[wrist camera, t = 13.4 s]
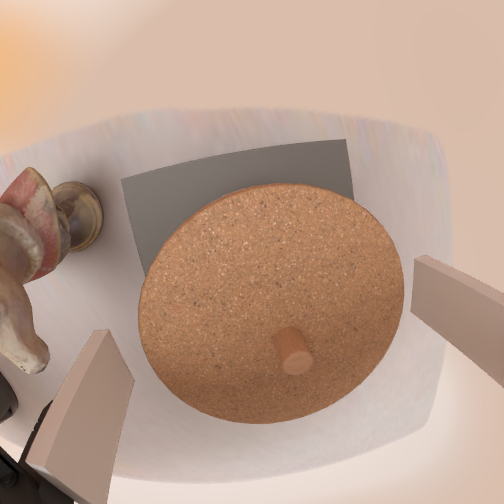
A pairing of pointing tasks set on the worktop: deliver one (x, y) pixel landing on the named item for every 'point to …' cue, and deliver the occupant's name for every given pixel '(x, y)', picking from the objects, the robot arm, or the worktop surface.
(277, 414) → the lidded jar
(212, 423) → the worktop surface
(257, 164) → the block
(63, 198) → the decorative bust
